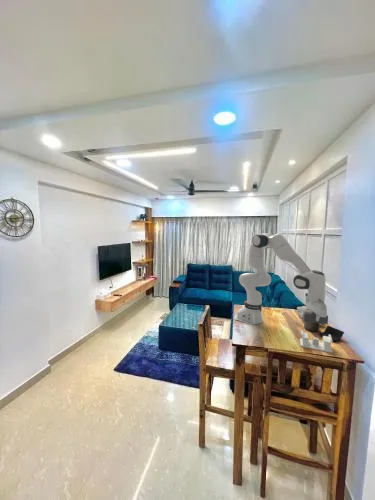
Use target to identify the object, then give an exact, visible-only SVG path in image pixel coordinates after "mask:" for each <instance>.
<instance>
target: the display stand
mask: <svg viewBox="0 0 375 500" xmlns="http://www.w3.org/2000/svg"><path fill="white" fill-rule="evenodd" d="M308 333H309V332H304V331H303V329H300V335H301V338H299V344H300V347H302V348H307V349H310V350H311V349H312V350H316V351H321V352H327V353H330V352H331V353H330V354H333V349H332V346H331V345H332V343H333V340H332V338H331V335H330V334H329V336H322V342H321V341H320V340H319V337H315V336H313V337H312V340H311V339H309V334H308Z"/></svg>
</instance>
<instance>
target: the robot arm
mask: <svg viewBox="0 0 375 500" xmlns="http://www.w3.org/2000/svg"><path fill="white" fill-rule="evenodd" d="M269 248H272V250H273V252H274V253H275V255H276V257H277V258H278V259H279V260H281V261H283V262H287V263H290V264H291V265H293V266H294V267H295V268H296V270H297V271H298V273H300V274H296V275H294V277H293V279H292V282H293V285H294V287H295V288H296V289H298V290H307V291H308V292H305V294H304V296H305V306H306V307H308V308H309V309H310V310H311V313H316V317H315V320H316V321H319V318H320V317H326V316H327V315H328V311H327V310H328V308H327V305H326V303H325V299H326V292H325V289H326V275H325V273H324V272H322V271H319V270H311V269H310V268H309V266H308V264H306V262H305V261H304V260H303V259H302V258H301V256H300V255H298V253H297V252H296V251H295V250H294V249H293V247H292V245H291V244H290V243H289V242H288V240H287V239H286V237H284V235H282V234H280V233H271V232H269V233H268V232H264V233H257V234H255V235H253V236H252V239H251V243H250V246H249V249H248V266H249V267H250V268H251V269H253V270H254V272H244V273H241V274H240V275H239V277H238V282H239V284H240V286H242V287H243V288H244V289H245V291H246V300H244V306H243V307H240V308H239V309H238V311H237V313H236V314H235V315H234V318H233V319H234V320H235V321H237V320H238V321H237V322H241V323H245V324H248V325H257V324H262V323H263V322H264V321H263V315H262V314H263V313H262V311H263V304H262V298H263V297H262V296H263V295H262V292H260V291H258V290H256V288H257V287H266V286H270V284H271V282H272V277H271V275H270V274H269V273H268V272H267V271H266V269H265V267H264V251H265V249H269Z"/></svg>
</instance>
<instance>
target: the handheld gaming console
mask: <svg viewBox="0 0 375 500" xmlns="http://www.w3.org/2000/svg"><path fill="white" fill-rule="evenodd" d="M318 334H319V336H322V337H323V336H329V334H330V335H331V338H332V342H339V341H341V339H342V337H343V335H344V334H345V331H343V330H341V329H338V328H336V327H333V326H330V325H326V328H325V330H324V331H322V332H318Z"/></svg>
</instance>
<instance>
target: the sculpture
mask: <svg viewBox="0 0 375 500" xmlns="http://www.w3.org/2000/svg"><path fill="white" fill-rule="evenodd" d="M296 309H297V312H298V314H299V316H300V318H302V319H303V312H305V309H309V308H308V307H306V305H303V306H297V307H296ZM319 325H322V326H324V327H327V324H322V323H319Z"/></svg>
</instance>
